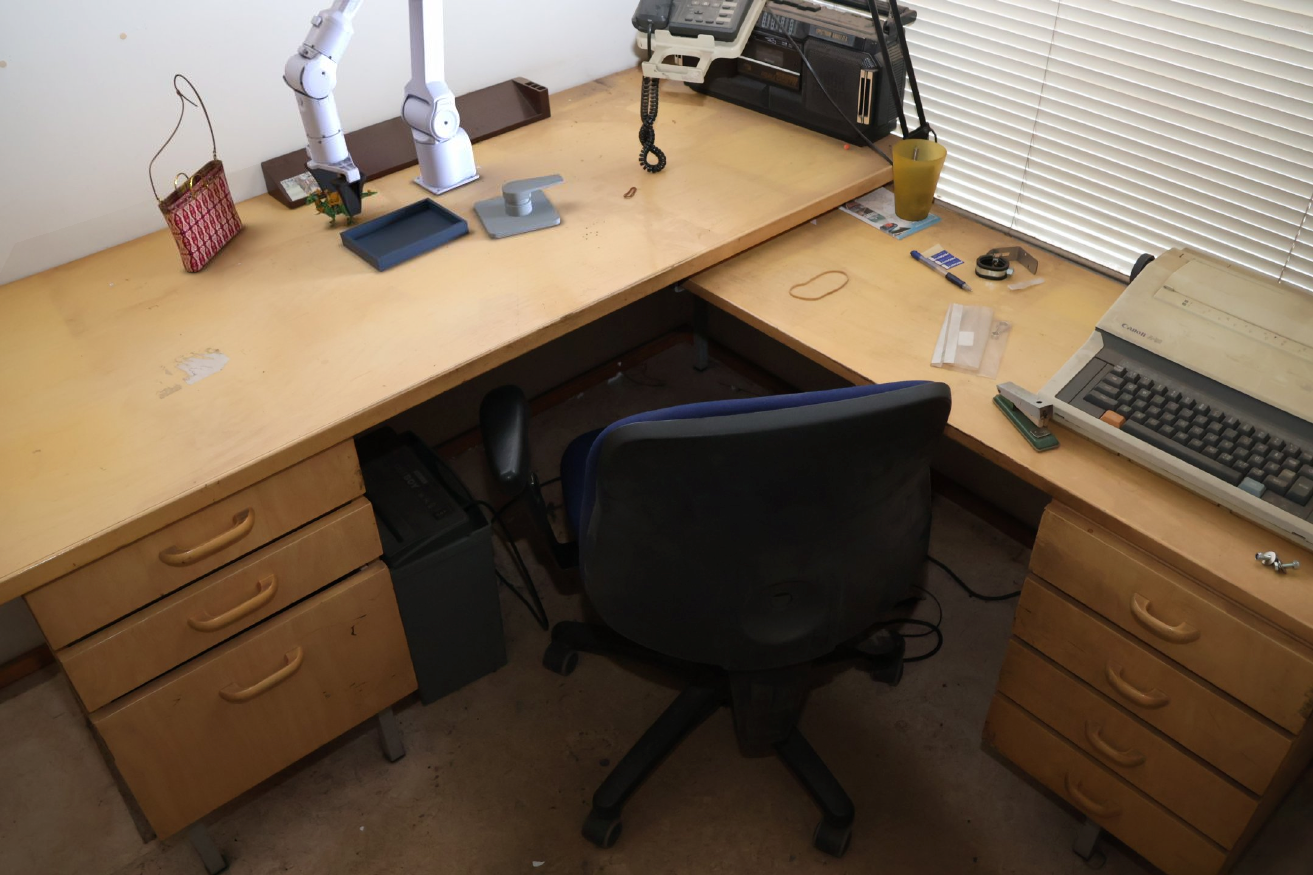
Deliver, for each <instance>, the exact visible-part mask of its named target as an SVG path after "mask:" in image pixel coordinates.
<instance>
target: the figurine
mask: <svg viewBox="0 0 1313 875" xmlns="http://www.w3.org/2000/svg"><path fill="white" fill-rule="evenodd" d="M327 191H328V190H326V191H324V192H325V193H326V195H327V198H325V199H324V200H323V201H322V200H321V198H320V197H319V196H320V195H321V193H322V191H321V189H320V188H316V189H315V190H314V191H312V192H310V191H309V192H308V194H309V195H308V197H307V199H306V203H305V205H306V206H310V205H311V204H313V203H314V206H315V211H317V213H314V215H316V216H318V215H321V214H324V215H326V216H327V217H329V218H331V220H330V221H329V222H328V223H329V225H328V226H329V227H330V228H332V227H334V226H335V223H336V216H340V215H341V214H343V216H345V217H347V218H346V221H347V222H346V226H351V225H352V224H355V222H354V220H355V218H354V217H355V216H353V217H350V216H349V215H348V213H347V211H346V209H345V207H344V204H343V202H342V199H341V197H340V195H339V194H338V192H334V193H331V194H329V193H327ZM328 192H329V191H328ZM377 193H378V191H372V190H371V189H367V190H366V192H364V189H363V190H362V200H363V199H365V198H369V197H372V196H373V195H376V194H377ZM315 194H317V195H315Z"/></svg>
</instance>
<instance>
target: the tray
mask: <svg viewBox="0 0 1313 875" xmlns="http://www.w3.org/2000/svg"><path fill="white" fill-rule="evenodd" d="M468 234H470V231H469V224H468V220H466V219H464V218H463V217H462V216H460V215H458V214H457V213H455V212H453V211H451V210H449V209H448V208H446V207H445V206H443V205H441V204H440V203H438V202H437V201H435V200H433V199H432V198H430V197H425V198H423V199H421V200H418V201H415V202H413V203H410V204H408V205H405V206H403V207H401V208H398V209H396V210H393V211H391V212H388V213H386V214H383V215H381V216H378V217H376V218H374V219H370V220H368V221H365V222H364V223H363V222H362V223H361V224H358V225H356V226H353V227H350V228H349V229H346V230H343V231H341V232H339V236H340V239H341V243H342V246H344V247H345V248H346V249H348V250H349V251H350V252H352V253H353V254H354V255H356V256H358V257H359V258H360V259H361V260H363V261H364V262H366V263H367V264H368V265H370V266H371V267H373V268H374V269H375V270H377V271H378V272H383V271H385V270H387V269H390V268H392V267H394V266H396V265H399V264H401V263H404V262H405V261H408V260H411V259H413V258H415V257H418V256H419V255H422V254H424V253H427V252H428V251H429V252H430V251H431V250H433V249H435V248H438V247H440V246H443V245H445V244H448V243H450V242H452V241H454V240H457V239H459V238H461V237H463V236H466V235H468Z"/></svg>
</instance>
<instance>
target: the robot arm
mask: <svg viewBox="0 0 1313 875" xmlns="http://www.w3.org/2000/svg"><path fill="white" fill-rule="evenodd" d="M364 1H365V0H333V2H332V4H331V6H330V7H328V8H326V9H322V10H320V11H319V12H318V14H317V15H313V16H312V18H311V20H310V24H311V27H310V29H309V31H308V33H307V35H306V37H305V39H304V40H303V42H302V44H301V45H299V46H298V48H297V49H296V51H297V53H295V54H294V55H291V56H290V57H289V58H288V59H287V60H286V63H285V66H284V74H283V75H282V79H283V81H284V83H285V84H286V85H287V87H289V88H290V89H292V91H293V92H294V96H295V99H296V103H297V107H298V111H299V114H300V118H301V122H302V126H303V128H304V132H305V135H306V136H305V137H306V139H307V143H308V144H305V145H304V148H305V150H306V154H307V156H308V157H309V158H310V160H309V161H306V162H305V163H304V164H303V166H304V168H305V169H306V170H307V171H308V173H310V175H311V176H312V178H313V179H314V180H315V182H316V184H317V185H318V187H319V190H320V189H321V193H322V195H323V196H324V198H325V199H326V198H327V195H326V193H325V192H324V191H326V190H328V191H329V192H328V191H327V193H329V194H331V193H334V192H338V194H339V195H340V197H341V199H342V202H343V204H344V207H345V209H346V211H347V213H348V215H349V216H350V217H353V216H354V217H355V216H358V215H361V214H362V210H363V207H362V206H363V204H362V203H363V202H362V201H363V199H362V193H363V192H362V190H363V191H364V186H365V183H366V180H367V176H366V173H364V172H362V171H359V168H358V167H357V166H356V165H355V163H354V161H353V159H352V156H351V153H350V151H348V148H347V144H346V139H345V135H344V131H343V129H342V124H341V119H340V116H339V112H338V108H337V103H336V100H335V97H334V93H333V90H334V89H335V88H336V86H337V73H336V72H337V70H338V64H339V62H340V61H341V59H342V56H343V55H344V53H345V51H346V49H347V47H348V45H349V44H350V42H351V40H352V38H353V36H354V34H355V31H354V27H353V20H354V18H355V16H356V14H357V13H358V11H359V9H360V8H361V6H362V4H363V3H364ZM407 3H408V25H409V46H410V47H409V48H410V50H409V51H410V71H411V79H410V80H409V81H408V82H407V83H406V84H405V85H404V89H403V90H404V97H403V99H402V102H401V105H400V117H401V120H402V121H403V122H404V124H405V125H406V126H408V127H410V130H411V134H412V138H413V143H414V147H415V152H416V157H417V161H418V166H419V172H420V175H419V176H416V177H414V178H413V179H412V181H413V182H414V183H415V184H416V185H418V186H420V187H422V188H423V189H425V190H427V191H429V192H430V193H432V194H434V195H439V194H443V193H445V192H447V191H450V190H452V189H455V188H457V187H459V186H462V185H465V184H468V183H470V182H473V181H474V180H477V179H479V178H480V175H479V174H477V171H476V165H475V159H474V153H473V148H472V143H471V140H470V138H469V136H468V133H467V132H466V131H465V129H464V128H462V127H461V126H460V123H461V122H460V114H459V112H458V110H457V107H456V102H455V100H456V99H455V95H454V93H453V92H452V90H451V89H450V87H449V86H448V84H447V83H446V81H445V59H444V58H445V53H444V17H443V15H444V14H443V13H444V12H443V10H444V9H443V0H408V2H407ZM338 174H339V176H338ZM350 217H349V218H350ZM354 217H353V218H354Z"/></svg>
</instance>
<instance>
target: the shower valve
mask: <svg viewBox="0 0 1313 875" xmlns="http://www.w3.org/2000/svg"><path fill="white" fill-rule="evenodd" d="M564 183H565V182H564V178H563V176H562V175H561V174H559V173H555V174H550V175H544V176H538V177H537V176H536V177H532V178H525V179H518V180H513V181H509V182H507V183H505V184H503V185H502V187H501V191H502V196H497V197H494V198H489V199H484V200H479V201H476V202H474V203H473V210H474V213H475V214H476V216H477V217H478V220H479V221H480V223H481V225H482V227H483V228H484V230H485V232H486V234H487V235H488V237H489V239H493V240H497V239H501V238H507V237H510V236H515V235H518V234H519V235H520V234H523V233H527V232H533V231H537V230H542V229H544V228H550V227H554V226H557V225H559V224H560V223H561V216H560V215H559V213H558V212H557V211H556V208H554V206H553V204H551V202H550V200H549V199H548V197H547V196H546V194H545V193H544V192H543V189H546V188H549V187H550V188H551V187H554V186H558V185H561V184H564Z"/></svg>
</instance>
